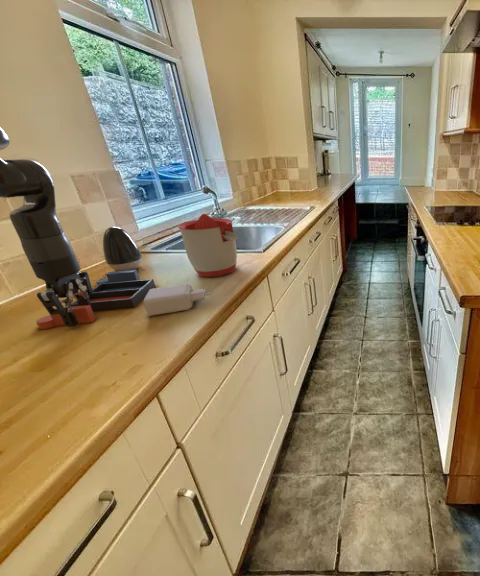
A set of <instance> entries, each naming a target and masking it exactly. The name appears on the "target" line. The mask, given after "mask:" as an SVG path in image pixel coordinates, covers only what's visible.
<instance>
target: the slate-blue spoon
mask: <svg viewBox="0 0 480 576" xmlns="http://www.w3.org/2000/svg"><path fill="white" fill-rule="evenodd" d="M105 275H106V277H103V278H100V279H98V280H97V279H96V281H95V282H96V286H98V285H99V284H101V283H113V282H125V281H137V280H141V279H140V276H139V273H138V270H137V269H134V270H130V271H109V272H106V273H105Z"/></svg>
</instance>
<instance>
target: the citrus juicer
mask: <svg viewBox="0 0 480 576" xmlns="http://www.w3.org/2000/svg"><path fill="white" fill-rule="evenodd" d="M177 227H178V229H179V230H180V234H181V239H182V242H183V246H184V250H185V254H186V256H187V258H188V260H189V262H190V264H191V266H192V267H193V270H194V271H195V272H196V274H198V276H200V277H205V278H211V277H222V276H224V275H228V274H230V273H232V272H234V271H235V270H236V268H237V267H236V266H237V258H238V250H237V249H238V248H237V243H236V240H238V239H239V237H238V235H237V233H235V232H234V228H233V220H232V219H229V218H220V217H219V218H217V217H216V218H215V217H214V218H212V217H211V216H209V215H208V214H206V213H202V214H201V215H199V217H198V219H195V220H190V221H185V222H183V223H180V224H179V225H178V226H177Z"/></svg>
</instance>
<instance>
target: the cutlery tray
mask: <svg viewBox="0 0 480 576" xmlns="http://www.w3.org/2000/svg"><path fill="white" fill-rule="evenodd" d="M154 288H156V283H155V281H154V279H153V278H151V279H150V278H149V279H140V280H137V281H125V282H113V283H101V284H99V285H96V286H95V287H92V290H93V294H90V295H89V296H90V299H89V301H90V304H91V306H92V309H93V312H99V311H109V310H111V311H112V310H119V309H120V310H121V309H129V308H131V309H132V308H135V307H136V306H137V305H138V304H139V303H140V302H141V301H142V300H144V298H145V297H146V295H147V293H148V292H149V290H150V289H154ZM77 301H79V300H76V299H75V300H73V302H72V303H71V306H72V307H74V306H78V304H77Z"/></svg>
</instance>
